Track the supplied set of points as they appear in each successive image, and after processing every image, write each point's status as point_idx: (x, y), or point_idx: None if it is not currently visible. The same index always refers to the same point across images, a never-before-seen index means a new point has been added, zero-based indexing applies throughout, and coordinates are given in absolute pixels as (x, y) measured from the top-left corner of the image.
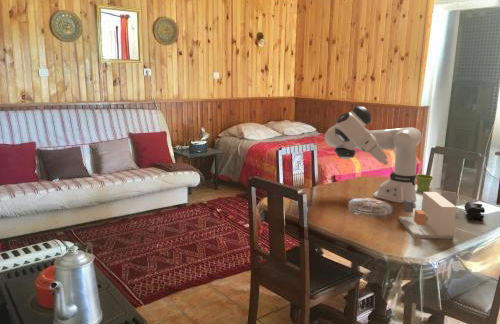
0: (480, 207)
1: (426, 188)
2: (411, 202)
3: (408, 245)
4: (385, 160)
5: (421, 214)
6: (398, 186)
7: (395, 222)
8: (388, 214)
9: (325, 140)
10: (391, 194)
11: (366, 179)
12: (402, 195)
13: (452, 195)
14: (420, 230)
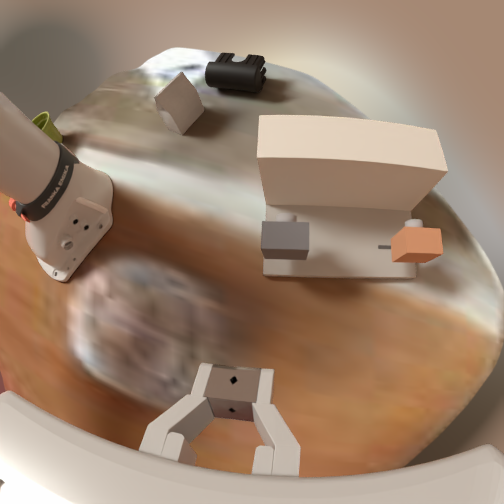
0: (249, 58)
1: (58, 136)
2: (308, 231)
3: (455, 309)
4: (273, 407)
5: (441, 245)
6: (71, 208)
7: (291, 295)
8: (212, 294)
9: None
10: (77, 234)
11: None
12: (98, 206)
13: (180, 85)
14: (387, 248)
